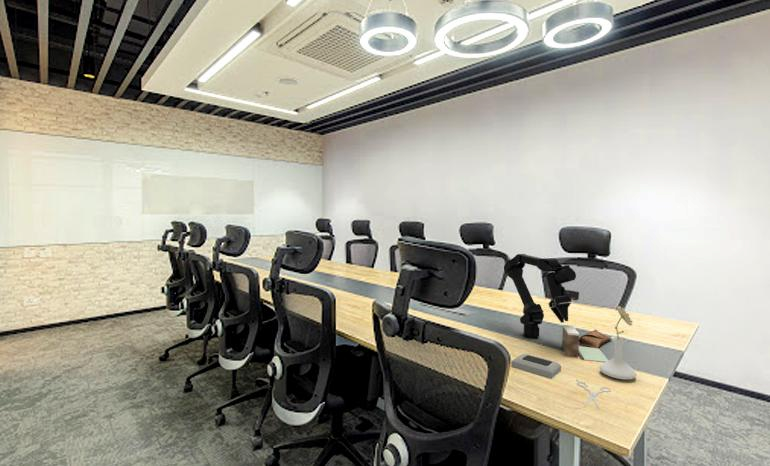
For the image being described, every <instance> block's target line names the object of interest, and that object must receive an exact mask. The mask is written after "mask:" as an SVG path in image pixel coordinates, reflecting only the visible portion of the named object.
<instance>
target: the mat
mask: <svg viewBox="0 0 770 466" xmlns="http://www.w3.org/2000/svg"><path fill="white" fill-rule="evenodd" d="M578 357H579V358H580V359H581V360H582V361H589V362H600V363H604V362H606V361H608V360H609V359H608V357H606V355H605V354H604V353H603V352H602V351H601V350H600V347H598V348H595V347H588V346H581V345H579V351H578Z"/></svg>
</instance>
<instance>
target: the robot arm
mask: <svg viewBox="0 0 770 466" xmlns="http://www.w3.org/2000/svg"><path fill="white" fill-rule="evenodd" d="M526 264H527V265H530V266H534V267H536V268H537V269H538V270H540V271H542V272H543V275H541V279H545V281H546V285H547V289H548V290H547V293H549V295H550V296H549V297H550V299H549V300H550V301H549V302H548V303H547V304H548V308H549V309H550V311H551V312H552V313H553V315H555V317H556V318H557V319H558V320H559V322H560V323H561V324H562V323H565V322H569V307H570V306H571V304H572V300H573V301H579V299H580V292H579V291H576V290H570V289H565V286H563V284H566V283H569V282H572V281H575V280H576V279H577V278H576V277H577V273H576V272H575V270H574V269H573V268H571V267H570V265H569V264H567V265H565V264H564V265H562V264H561V263H560V262H559V261H558V259H557V258H554V257H553V258H552V257H551V258H550V257H548V258H547V257H546V258H545V257H544V258H541V257H537V256H532V255H528V254H526V253H518V254H516V255H515V256H514V257H511V259H509V260H508V261H506V263H505V264H504V266H503V270H504V272H505V273H506V275H507V277H509V279H511V280H512V283H513V284H514V287H515V288H516V291H517V293H518V295H519V298H520V300H521V303H522V305H523V309H522V313H523V315H522V316H520V318H519V321H520V324H522V325H523V332H522V335H523V338H528V339H536V340H537V339H539V337H540V327H539V325H542V323H543V320H544V317H545V315H544V312H545V311H544V310H543V308H542V304H540V303H536V302H535V301H534V300H533V297H532V295H531V292H530V290H529V288H528V286H527V284H526V281H525V280H524V277H523V276H524V275H523V273H524V268H525V266H526Z"/></svg>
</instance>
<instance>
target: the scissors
mask: <svg viewBox="0 0 770 466" xmlns="http://www.w3.org/2000/svg"><path fill="white" fill-rule="evenodd" d="M575 381H577V382H576V385H577V386H579V387H580V388H583V389H584V390H585V391H587V392H588V393H589V395H590V396H589V397H588V398H587V401H585V404H584V407H586V406H587V405H588V404H589V403H590V402H592V401H593V402H594V404H595V405H596V407H597V409H598V410H601V409H600V406H599V403H598V399H597V396H598V395H599V394H602V393H610V392H612V389H611V388H610V387H607V386H601V387H600V388H599V390H600V391H596V392H595V391H594V392H593V391H591V390H589V389H588V388H587V387H589V385H588V384H587V383H586V382H583V381H581V380H579V379H577V378H575ZM604 389H608V390H604Z"/></svg>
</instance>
